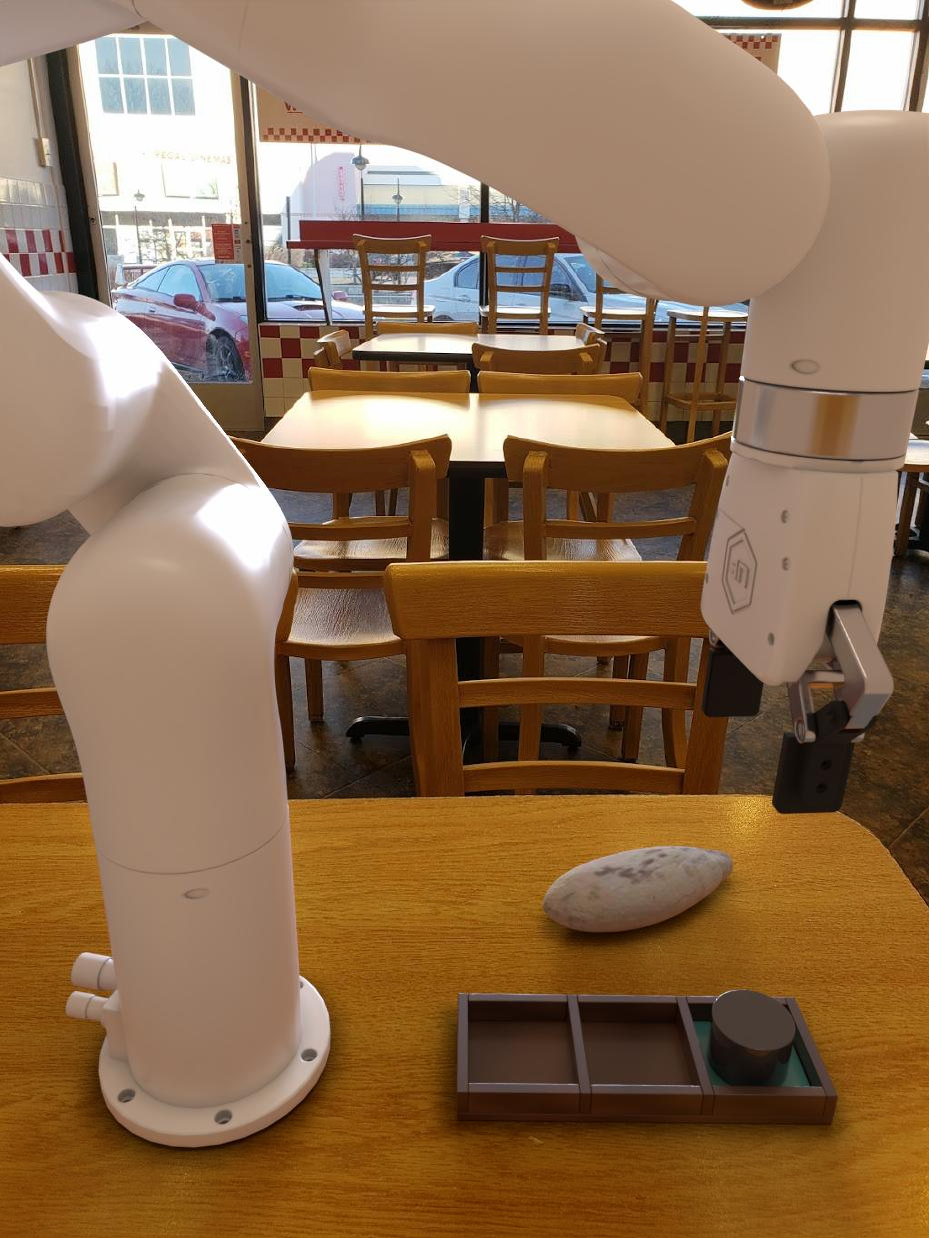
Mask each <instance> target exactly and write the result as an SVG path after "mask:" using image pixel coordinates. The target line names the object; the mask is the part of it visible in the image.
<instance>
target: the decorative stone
mask: <svg viewBox="0 0 929 1238" xmlns="http://www.w3.org/2000/svg"><path fill="white" fill-rule="evenodd" d="M733 868H734V862H733V859H732V856H730V854H728V853H726V852H725V851H721V850H715V849H711V848H710V849H703V848H702V847H701V848H700V847H697V846H693V847H692V846H684V845H677V846H676V845H666V846H665V845H663V846H662V845H661V846H652V847H651V846H650V847H643V848H635V849H631V850H630V849H629V850H625V851H619V852H618V853H614V854H610V855H607V856H602V857H599V858H596V859H593V860H590V861H588V862H585V863H582V864H580V865H577V866H575V867H574V868H571V869H570V870H568V871H567V872H564V873H563V874H562V875H561V876H559V877H558V878H557V879H555V881H553V882H552V885H550V887H549V888H548V889H547V891H546V893H545V895H544V897H543V899H542V906H541V907H542V909H543V911H544V913H545V914H546V916H548V917H549V918H550V919H551V920H553V921H554V922H555V923H557V924H559V925H561V926H563V927H566V928H569V929H571V930H574V931H578V932H585V933H616V932H625V931H632V930H637V929H641V928H645V927H650V926H653V925H657V924H659V923H661V922H664V921H666V920H669V919H671V918H674V917H675V916H678V915H680V914H681V913H683V912H685V911H686V910H688V909H691V908H692V907H693V906H695V905H696V904H698V903H699V902H700V901H702V900H703V899H704V898H706V897H707V896H709V895H710V894H712V892H714V891H715V890H716V889H717V888H718V887H719V886H720V885H721V883H722V882H724V881H725V880H727V879H728V878H729V877H730V876H731V875H732V873H733V870H734V869H733Z"/></svg>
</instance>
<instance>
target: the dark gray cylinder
mask: <svg viewBox="0 0 929 1238" xmlns="http://www.w3.org/2000/svg"><path fill="white" fill-rule="evenodd" d="M772 997H773V996H769V995H768V994H766V993H763V992H760V991H756V990H752V989H733V990H729V991H726V992H724V993H722V994H720V995H719V997H718V998H717V999H716V1001H715V1002H714V1004H713V1007H712V1013H711V1020H710V1027H709V1035H708V1042H707V1050H706V1054H707V1059H708V1062H709V1064H710V1066H711V1068H712V1069H713V1071H714V1072H715V1073H716V1074H717V1075H718V1076H719V1077H720V1078H721V1079H722V1080H723V1081H725V1082H726V1083H728V1084H729V1085H731V1086H778V1087H779V1086H781V1085H782V1084H783V1083H784V1081H785V1080H786V1078H787V1075H788V1069H789V1064H790V1058H791V1053H792V1047H793V1042H794V1036H795V1023H794V1020H793V1018H792V1016H791V1014H790V1013H789V1011H788V1010H787V1009H786V1008H785V1007H784V1006H783V1005H782V1004H781V1003H779V1002H778V1001H777V1000H775V999H773V998H772Z"/></svg>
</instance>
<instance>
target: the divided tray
mask: <svg viewBox="0 0 929 1238" xmlns="http://www.w3.org/2000/svg"><path fill="white" fill-rule="evenodd" d="M719 996H720V995H719ZM719 996H718V995H716V996H715V995H714V996H713V995H702V996H701V995H686V996H685V995H633V994H632V995H628V994H627V995H624V994H549V993H548V994H547V993H546V994H543V993H541V994H538V993H533V994H531V993H467V992H466V993H460V992H459V993H458V994H457V1022H456V1023H457V1025H456V1026H457V1027H456V1028H457V1030H456V1031H457V1035H456V1037H457V1039H456V1107H455V1108H456V1113H455V1114H456V1115H455V1116H456V1117H455V1119H456V1121H511V1122H514V1121H523V1122H525V1121H527V1122H601V1123H602V1122H603V1123H604V1122H605V1123H606V1122H607V1123H609V1122H611V1123H612V1122H613V1123H622V1122H623V1123H689V1124H690V1123H692V1124H693V1123H697V1124H699V1123H700V1124H702V1123H704V1124H710V1123H711V1124H781V1125H782V1124H784V1125H785V1124H786V1125H789V1124H794V1125H795V1124H796V1125H833V1122H834V1117H835V1112H836V1108H837V1103H838V1098H839V1095H838V1092H837V1090H836V1088H835V1086H834V1084H833V1082H832V1079H831V1077H830V1075H829V1072H828V1070H827V1068H826V1065H825V1063H824V1061H823V1059H822V1057H821V1054H820V1051H819V1050H818V1048H817V1045H816V1043H815V1041H814V1038H813V1037H812V1034H811V1032H810V1029H809V1027H808V1025H807V1023H806V1021H805V1018H804V1016H803V1014H802V1011H801V1009H800V1006H799V1004H798V1002H797V1000H796V998H795V996H771V997H772V998H773V999H775V1000H777V1001H778V1002H779V1003H781V1004H782V1005H783V1006H784V1007H785V1008H786V1009H787V1010H788V1011H789V1013H790V1014H791V1016H792V1018H793V1020H794V1023H795V1036H794V1042H793V1047H792V1053H791V1058H790V1064H789V1069H788V1075H787V1078H786V1080H785V1081H784V1083H783V1084H782V1085H781V1086H779V1087H778V1086H731V1085H729V1084H728V1083H726V1082H725V1081H723V1080H722V1079H721V1078H720V1077H719V1076H718V1075H717V1074H716V1073H715V1072H714V1071H713V1069H712V1068H711V1066H710V1064H709V1062H708V1059H707V1054H706V1050H707V1042H708V1035H709V1027H710V1020H711V1013H712V1007H713V1004H714V1002H715V1001H716V999H717V998H718V997H719Z"/></svg>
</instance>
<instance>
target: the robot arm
mask: <svg viewBox="0 0 929 1238" xmlns="http://www.w3.org/2000/svg"><path fill="white" fill-rule="evenodd" d="M146 22H148V23H151V24H152V25H154V26H156V27H157V28H158V29H160V30H162V31H164V32H166V33H168V34H169V35H170V36H173V37H174V38H176V39H177V40H180V41H181V42H183V43H184V44H186V45H188V46H189V47H192V48H193V49H195V50H197V51H198V52H199V53H201V54H203V55H205V56H207V57H209V58H210V59H212V60H213V61H215V62H217V63H219V64H220V65H222V66H224V67H225V68H227V69H229V70H230V71H232V72H234V73H235V74H237V75H240V76H241V77H243V78H244V79H246V80H247V81H249V82H251V83H253V84H254V85H256V86H258V87H259V88H261V89H263V90H264V91H266V92H268V93H270V94H271V95H272V96H274V97H276V98H278V99H279V100H281V101H282V102H284V103H286V104H288V105H289V106H291V107H292V108H294V109H295V110H298V111H299V112H301V113H302V114H304V115H306V116H308V117H309V118H312V119H313V120H315V121H317V122H319V123H322V124H323V125H326V126H328V127H330V128H333V129H335V130H337V131H339V132H341V133H343V134H344V135H347V136H350V137H352V138H356V139H359V140H362V141H368V142H372V143H378V144H382V145H387V146H390V147H391V146H392V147H395V148H399V149H402V150H407V151H410V152H411V153H415V154H418V155H421V156H424V157H426V158H429V159H431V160H434V161H435V162H438V163H440V164H442V165H445V166H447V167H449V168H451V169H453V170H455V171H457V172H459V173H461V174H463V175H466V176H468V177H470V178H472V179H474V180H476V181H478V182H480V183H481V184H483V185H485V186H488V187H489V188H491V189H493V190H495V191H497V192H499V193H500V194H502V195H504V196H506V197H507V198H510V199H511V200H513V201H515V202H516V203H519V204H520V205H522V206H524V207H525V208H528V209H529V210H530V211H533V212H534V213H536V214H537V215H539V216H541V217H542V218H544V219H546V220H548V221H549V222H551V223H553V224H555V225H557V226H558V227H560V228H562V229H563V230H565V231H566V232H568V233H569V234H571V235H573V236H574V237H575V241H576V243H577V246H578V248H579V251H580V252H581V254H582V256H583V258H584V260H585V262H587V264H588V265H589V267H590V268H591V269H592V270H593V272H595V273H596V275H598V276H599V277H600V278H601V279H602V280H603V281H605V282H606V283H608V284H609V285H611V286H612V287H614V288H616V289H618V290H620V291H622V292H625V293H627V294H630V295H632V296H636V297H640V298H643V299H651V300H656V301H661V302H672V303H673V302H674V303H679V304H684V305H689V306H693V307H694V306H695V307H702V308H703V307H705V308H718V307H727V306H732V305H735V304H739V303H742V302H745V301H748V300H749V305H748V312H747V313H748V314H747V321H746V327H745V328H746V329H745V337H744V343H743V351H742V359H741V365H740V377H739V379H738V388H737V395H736V402H735V409H734V410H735V411H734V416H733V417H734V418H733V423H732V424H733V425H732V431H731V439H730V447H729V450H730V451H731V452H732V453H731V455H730V458H729V463H728V466H727V469H726V473H725V476H724V479H723V483H722V488H721V491H720V497H719V500H718V505H717V509H716V515H715V520H714V523H713V530H712V535H711V539H710V546H709V551H708V557H707V563H706V568H705V572H704V573H705V574H704V579H703V584H702V585H703V586H702V592H701V600H700V612H701V614H702V618H703V620H704V622H705V623H706V624H707V626H708V628H709V629H708V641H709V644H710V646H712V647H709V648H708V656H707V663H706V670H705V677H704V684H703V692H702V697H701V698H702V700H701V706H700V708H701V711H702V713H703V714H704V715H705V716H706V717H707V718H737V717H738V718H740V717H741V718H742V717H743V718H744V717H755V716H757V715H758V714H759V712H760V707H761V701H762V696H763V689H764V684H765V685H766V686H769V687H778V686H781V685H782V684H783V683H785V684H786V690H787V696H788V703H789V710H790V716H791V722H792V728H793V731H792V732H789V731H788V732H787V731H785V732H783V734H782V740H781V747H780V752H779V758H778V765H777V770H776V775H775V776H776V777H775V780H774V787H773V792H772V799H771V805H772V806H773V808H774V809H775V811H776V812H777V813H778V814H781V815H796V814H798V815H799V814H831V813H837V812H838V811H840V809H841V808H842V807H843V803H844V798H845V793H846V790H847V789H846V788H847V784H848V778H849V773H850V768H851V764H852V759H853V755H854V749H855V744H856V743H861V742H863V740H864V739H865V735H866V733H867V732H868V731H870V730H872V729H873V728H874V727H876V724H877V721H878V715H879V713H880V712H881V711H882V709H883V708H884V706H885V705H886V703H887V702H888V701H889V700H890V698H891V696H892V695H893V693H894V689H895V681H894V678H893V676H892V673H891V671H890V669H889V667H888V665H887V662H886V661H885V658H884V657H883V654H882V652H881V651H880V649H879V646H878V642H879V639H880V634H881V628H882V624H883V618H884V612H885V608H886V601H887V595H888V588H889V581H890V573H891V567H892V566H891V565H892V561H893V560H892V559H893V552H894V543H895V532H896V519H897V507H898V483H899V472H898V471H897V470H900V469H902V468H904V466H905V462H906V459H907V451H908V447H909V441H910V436H911V432H912V428H913V421H914V417H915V411H916V407H917V401H918V397H919V392H920V388H921V383H922V379H923V374H924V369H925V364H926V360H927V359H926V358H927V355H928V349H929V112H923V111H913V110H901V109H858V110H844V111H843V110H842V111H836V112H829V113H828V112H827V113H822V114H816V115H813V113H812V112H811V109H809V107H807V105H806V104H805V103H804V101H803V100H802V99H801V97H800V96H799V95H798V93H796V91H795V90H794V89H793V88H792V87H791V86H790V84H788V83H787V82H786V81H785V80H784V79H783V78H782V77H781V76H779V74H777V73H776V72H775V71H773V70H772V68H770V67H768V66H767V65H766V64H764V63H763V62H762V61H760V60H759V59H757V57H755V56H753V55H752V54H750V53H749V52H748V51H746V50H745V49H743V48H742V47H740V46H739V45H738V44H736V43H734V41H732V40H730V39H729V38H728V37H727V36H724V35H723V34H722V33H720V32H719V31H718V30H716V29H714V28H713V27H711V26H710V25H708V24H707V23H706V22H704V21H702V20H701V19H700V18H698V17H697V16H695V15H694V14H692V13H691V12H689V11H688V10H687V9H685V8H684V7H682V6H681V5H680V4H678V3H676V2H675V1H673V0H0V68H2V67H5V66H9V65H12V64H16V63H19V62H23V61H26V60H29V59H33V58H36V57H39V56H43V55H47V54H50V53H53V52H57V51H60V50H64V49H67V48H72V47H75V46H77V45H81V44H85V43H89V42H91V41H95V40H98V39H100V38H103V37H107V36H109V35H112V34H116V33H119V32H121V31H125V30H128V29H131V28H134V27H136V26H138V25H141V24H143V23H146ZM66 511H68V512H69V513H70V514H71V515H72V516H73V517H74V519H76V521H77V522H78V523H79V524H80V525H81V526H82V528H84V530H85V531H86V532H87V533H88V534H89V535H90V536H89V537H88V538H87V539H86V540H85V541H84V542H83V543H82V545H80V547H79V548H78V549H77V550H76V551H75V553H73V555H72V556H71V558H70V559H69V561H68V563H67V564H66V566H65V567H64V569H63V571H62V573H61V574H60V577H59V579H58V582H57V583H56V586H55V587H54V590H53V593H52V596H51V599H50V603H49V607H48V611H47V618H46V626H45V627H46V630H45V635H46V636H45V638H46V639H45V642H46V643H45V644H46V653H47V654H46V655H47V660H48V666H49V670H50V673H51V677H52V681H53V683H54V684H53V685H54V687H55V690H56V693H57V695H58V699H59V701H60V704H61V706H62V709H63V712H64V715H65V717H66V720H67V723H68V726H69V729H70V733H71V735H72V739H73V741H74V746H75V749H76V753H77V757H78V761H79V764H80V769H81V774H82V779H83V780H82V781H83V784H84V790H85V795H86V801H87V808H88V814H89V820H90V826H91V833H92V839H93V842H94V847H95V854H96V859H97V867H98V872H99V879H100V885H101V892H102V899H103V906H104V911H105V919H106V925H107V932H108V938H109V944H110V950H111V951H110V952H111V956H109V955H103V954H98V953H92V952H86V951H85V952H81V953H80V954H79V955H78V956H77V957H76V959H75V961H74V963H73V964H72V968H71V972H70V982H71V984H72V986H74V987H77V988H78V987H79V988H84V989H89V990H94V991H100V992H105V991H108V992H113V993H112V994H111V995H110V996H109V997H104V996H99V995H98V994H96V993H95V994H94V993H89V992H85V991H79V990H75V991H73V992H72V993H70V995H69V997H68V999H67V1001H66V1005H65V1014H66V1016H67V1017H69V1018H70V1017H71V1018H74V1019H75V1018H76V1019H80V1020H84V1021H85V1020H86V1021H97V1022H100V1024H101V1027H103V1028H104V1029H105V1032H106V1034H105V1037H104V1040H103V1043H102V1046H101V1049H100V1052H99V1059H98V1060H99V1061H98V1078H99V1084H100V1090H101V1094H102V1097H103V1099H104V1102H105V1105H106V1108H107V1110H109V1112H110V1113H111V1114H112V1116H113V1117H114V1119H115V1120H116V1121H117V1122H118V1123H119V1124H120V1125H121V1126H123V1127H124V1128H125V1129H126V1130H128V1131H129V1132H130V1133H132V1134H133V1135H135V1136H138V1137H140V1138H142V1139H144V1140H147V1141H149V1142H152V1143H156V1144H160V1145H164V1146H169V1147H178V1148H179V1147H180V1148H203V1147H209V1146H218V1145H222V1144H226V1143H230V1142H233V1141H238V1140H240V1139H244V1138H246V1137H248V1136H251V1135H253V1134H255V1133H257V1132H259V1131H261V1130H264V1129H267V1128H269V1126H271V1125H272V1124H274V1123H275V1122H277V1121H279V1120H280V1119H282V1118H283V1117H285V1116H286V1115H288V1114H289V1113H290V1112H291V1111H292V1110H293V1109H295V1108H296V1106H298V1105H299V1104H300V1103H301V1102H302V1101H303V1100H304V1099H305V1098H306V1097H307V1095H308V1094H309V1093H310V1092H311V1090H312V1089H313V1088H314V1087H315V1086H316V1084H317V1083H318V1081H319V1079H320V1077H321V1075H322V1073H323V1071H324V1070H325V1067H326V1066H327V1065H326V1064H327V1061H328V1057H329V1054H330V1050H331V1025H330V1024H331V1021H330V1013H329V1011H328V1009H327V1005H326V1003H325V1000H324V998H323V997H322V996H321V994H320V993H319V991H318V990H317V988H316V987H315V986H314V985H313V984H311V982H309V980H307V979H306V978H305V977H303V976H302V975H300V962H299V948H298V947H299V946H298V929H297V914H296V901H295V900H296V899H295V883H294V869H293V853H292V837H291V836H292V835H291V824H290V822H291V821H290V808H289V807H290V806H289V801H288V788H287V772H286V763H285V761H286V760H285V752H284V751H285V750H284V741H283V734H282V733H283V732H282V726H281V725H282V724H281V719H280V713H279V705H278V699H277V698H278V697H277V691H276V690H277V689H276V680H275V677H276V676H275V645H276V633H277V629H278V625H279V621H280V619H281V615H282V612H283V608H284V604H285V599H286V597H287V594H288V591H289V588H290V583H291V580H292V575H293V570H294V561H295V553H294V552H295V551H294V550H295V549H294V543H293V542H294V541H293V538H292V532H291V529H290V526H289V523H288V521H287V519H286V517H285V515H284V512H283V511H282V508H281V507H280V506H279V504H278V502H277V500H276V499H275V497H274V496H273V494H272V493H271V491H270V490H269V489H268V487H267V486H266V484H265V483H264V482H263V481H262V479H261V478H260V477H259V475H258V474H257V472H256V471H255V470H254V468H253V467H252V466H251V465H250V463H249V462H248V461H247V459H246V458H245V457H244V456H243V455H242V453H241V452H240V450H239V449H238V448H237V446H236V445H235V444H234V443H233V441H232V440H231V439H230V437H229V436H228V435H227V433H225V431H224V429H222V427H221V426H220V425H219V424H218V422H217V421H216V420H215V418H214V417H213V416H212V414H211V413H210V412H209V410H208V409H207V408H206V407H205V406H204V404H203V403H202V402H201V400H200V399H199V397H198V396H197V395H196V394H195V393H194V391H193V390H192V388H191V387H190V386H189V385H188V384H187V382H186V381H185V379H183V376H181V374H180V373H179V372H178V371H177V369H176V368H175V367H174V365H173V364H172V363H171V362H170V360H169V359H168V358H167V357H166V356H165V354H164V353H163V352H162V351H161V349H160V348H159V347H158V346H157V345H156V344H155V343H154V342H153V341H152V339H151V338H150V337H148V335H147V334H145V333H144V332H143V331H142V330H141V329H140V328H139V327H138V326H137V325H136V324H135V323H134V322H133V321H131V320H129V318H127V317H126V316H125V315H123V314H122V313H120V312H119V311H118V310H116V309H114V308H112V307H111V306H109V305H107V304H105V303H103V302H101V301H99V300H97V299H94V298H92V297H88V296H86V295H83V294H79V293H74V292H70V291H64V290H47V289H46V290H45V289H44V290H43V289H42V290H37V289H36V288H35V287H34V286H33V285H32V284H30V282H29V281H27V280H26V279H25V278H24V277H23V276H22V275H21V274H20V272H18V270H17V269H16V268H15V267H14V266H13V265H12V264H11V263H10V261H9V260H8V259H7V258H6V257H5V256H4V255H3V254H2V252H0V527H3V528H10V527H11V528H12V527H24V526H30V525H34V524H35V525H36V524H38V523H41V522H44V521H47V520H49V519H52V518H55V517H56V516H58V515H60V514H62V513H63V512H66ZM815 663H817V664H821V665H823V666H824V668H826V669H808V668H809V667H810V665H811V664H815ZM815 689H816V690H818V689H819V690H820V689H821V690H822V689H826V690H827V689H832V690H833V696H834V700H831V701H829V702H827V704H825V705H823V706H822V707H820V708H819V709H817V710H816V711H815V707H814V701H813V694H812V690H815Z"/></svg>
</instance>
